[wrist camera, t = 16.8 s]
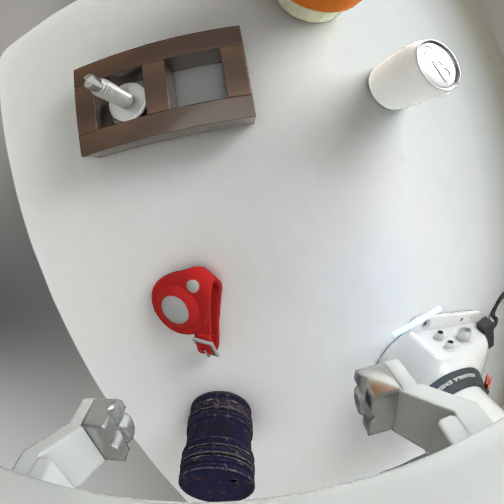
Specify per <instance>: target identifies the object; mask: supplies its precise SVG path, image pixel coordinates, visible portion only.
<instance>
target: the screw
mask: <svg viewBox="0 0 504 504" xmlns="http://www.w3.org/2000/svg"><path fill="white" fill-rule="evenodd" d="M84 79H86V81H85V83H84V86H85V87H86V88H87V89H89V90H91V92H92V93H93V94H94V95H95V96H97V97H99V98H101V99H104V100H106V101H108V102H109V109H110V112H111V114H112V116H113V117H114V118H115V119H117V120H119V121H122V122H124V121H128V120H131V119H135V118H138V117H139V116H140V115H141V114H142V113H143V112H144V110H145V108H146V99H145V91H144V88H143V87H142V86H140V85H139V84H137V83H126V84H123V85H121V86H120V87H118V86H117V85H115V84H113V83H112V82H110V81H109V80H106V79H104V78H98V77H96V76H94V75H92V74H87V75H86V76H85V77H84Z"/></svg>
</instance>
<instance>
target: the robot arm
mask: <svg viewBox="0 0 504 504" xmlns="http://www.w3.org/2000/svg"><path fill="white" fill-rule="evenodd" d="M503 298H504V293H503V294H502V295H501V296H500V297H499V299H498V300H497V302H496V304H495V306H494V308H493V310H492V313H491V317H492V318H493V319H494V323H493V322H492V321H491V320H489V319H488V318H486V317H485V316H484V317H482V315H481V313H480V312H479V311H478V310H471V311H461V312H451V313H440V314H436V313H438V312H440V311H441V310H442V308H441V307H440V306H438V307H436V308H435V309H433V310H431V311H430V312H428V313H426V314H424V315H418V316H416V317H414V318H413V319H412V320H411V322H410V323H409V324H407V325H405V326H403V327H401V328H400V329H398V330H396V331H394V332H392V333H393V335H394V336H395V337H396V336H398V335H400V334H401V333H403V332H404V333H403V334H402V335H401V336H400V337H399V338H398V339H397V340H395V341H394V342H393V343H392V344H391V345H390V346H389V347H388V348H387V350H386V351H385V352H384V354H383V355H382V357H381V358H380V360H379V362H378V364H376V365H373V366H369V367H365V368H361V369H357V370H355V376H354V380H355V382H356V384H357V386H356V387H355V388H354V399H355V405H356V408H357V410H358V413H359V414H360V415H362V416H363V424H364V426H365V429H366V431H367V433H368V435H373V434H377V433H380V432H384V431H387V430H390V429H392V430H393V431H395V432H396V433H398V434H399V435H401V436H403V437H404V438H406V439H408V440H409V441H411V442H413V443H414V444H416V445H418V446H419V447H421V448H423V449H424V450H425V452H426V454H427V456H426V457H424V458H421V459H419V460H416V461H414V462H411V463H409V464H406V465H404V466H401V467H398V468H395V469H392V470H389V471H386V472H383V473H380V474H377V475H374V476H370V477H367V478H364V479H360V480H356V481H353V482H349V483H345V484H341V485H337V486H333V487H328V488H324V489H319V490H314V491H309V492H304V493H298V494H292V495H285V496H278V497H271V498H262V499H252V500H240V501H222V502H172V501H155V500H144V499H134V498H126V497H118V496H112V495H105V494H99V493H94V492H89V491H83V490H79V489H77V488H78V487H79V486H80V485H81V484H82V483H83V482H84V481H85V480H86V479H87V478H88V477H89V476H90V475H92V473H94V472H95V471H96V470H97V469H98V468H99V467H100V466H101V465H102V464H103V463H104V462H105V461H106V460H116V461H125V460H126V458H127V455H128V452H129V449H130V448H129V446H128V443H129V442H130V441H131V440H132V439H133V437H134V423H133V420H132V418H131V416H130V415H128V414H127V413H126V412H124V411H125V408H126V407H125V405H124V403H123V401H122V400H119V399H99V398H97V399H95V398H85V399H84V400H82V402H81V404H80V406H79V407H78V409H77V411H76V412H75V414H74V416H73V417H72V419H71V421H70V423H69V425H64V426H62V427H61V428H59V429H57V430H56V431H54V432H53V433H51V434H49V435H48V436H46V437H44V438H43V439H41V440H40V441H38V442H36V443H35V444H33V445H32V446H30V447H28V448H26V449H25V450H23V452H22V453H21V455H20V457H19V458H18V460H17V462H16V463H15V465H14V467H13V468H12V470H9V469H7V468H4V467H2V466H0V504H504V410H502V409H501V408H500V407H499V406H498V405H497V404H496V403H495V402H494V401H493V400H492V399H491V398H490V397H489V396H488V393H489V390H488V389H489V386H490V383H491V379H492V377H491V378H490V380H489V374H487V376H486V379H485V383H484V384H483V380H482V374H483V371H484V368H485V365H486V361H487V356H488V349H489V348H491V347H492V346H493V345H494V330H493V329H494V328H495V327H496V325H497V323H498V318H497V317H496V316H495V311H496V309H497V306H498V305H499V303H500V301H501V300H502V299H503ZM424 322H425V323H424ZM423 323H424V324H423ZM488 381H489V382H488Z"/></svg>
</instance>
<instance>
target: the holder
mask: <svg viewBox="0 0 504 504" xmlns="http://www.w3.org/2000/svg"><path fill="white" fill-rule="evenodd" d="M218 62H222V67H223V73H224V78H225V84H226V90H227V96H228V98H223V99H218V100H212V101H207V102H202V103H197V104H192V105H187V106H183V107H178V105H177V98H176V91H175V84H174V77H173V72H174V71H178V70H183V69H187V68H192V67H197V66H202V65H207V64H212V63H218ZM87 74H92V75H94V76H96V77H98V78H104V79H106V80H109V81H110V82H112V83H113V84H115V85H117V86H118V87H120V86H121V85H123V84H126V83H133V82H136V81H140V80H143V82H144V91H145V99H146V107H147V114H148V115H146V116H142V117H138V118H135V119H131V120H128V121H124V122H121V123H118V124H114V125H113V122H112V114H111V112H110V109H109V102H108V101H106V100H104V99H101V98H99V97H97V96H95V95H94V94H93V93H92V92H91V90H89V89H87V88H86V87H85V86H84V83H85V81H86V79H84V77H85V76H86V75H87ZM74 87H75V102H76V114H77V124H78V132H79V140H80V148H81V155H82V157H97V158H101V157H104V156H107V155H111V154H114V153H118V152H121V151H125V150H128V149H132V148H136V147H140V146H144V145H147V144H151V143H156V142H160V141H164V140H168V139H173V138H177V137H182V136H186V135H191V134H196V133H201V132H206V131H211V130H217V129H222V128H228V127H234V126H240V125H247V124H253V123H254V121H255V117H256V114H255V108H254V102H253V96H252V91H251V85H250V79H249V74H248V68H247V63H246V58H245V52H244V47H243V42H242V36H241V31H240V26H232V27H225V28H219V29H213V30H207V31H202V32H197V33H192V34H187V35H183V36H178V37H174V38H170V39H166V40H162V41H158V42H154V43H151V44H147V45H144V46H140V47H137V48H134V49H130V50H127V51H124V52H121V53H118V54H115V55H112V56H109V57H107V58H104V59H101V60H98V61H96V62H93V63H91V64H88V65H86V66H83V67H81V68H78V69H76V70H74Z"/></svg>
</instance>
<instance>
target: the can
mask: <svg viewBox="0 0 504 504" xmlns="http://www.w3.org/2000/svg"><path fill="white" fill-rule="evenodd" d="M459 81H460V68H459V64H458V62H457V60H456V58H455V56H454V55H453V53H452V52H451V51H450V50H449V49H448V48H447V47H446V46H445V45H444V44H442V43H441V42H439V41H436V40H432V39H427V40H419V41H415V42H413V43H411V44H409V45H407V46H406V47H404V48H403V49H401V50H400V51H398V52H396V53H395V54H393V55H392V56H390V57H389V58H387V59H386V60H384V61H383V62H382V63H380V64H379V65H377V66H376V67H375V68H374V69H373V70H372V71H371V73H370V76H369V88H370V91H371V93H372V95H373V97H374V98H375V99H376V101H377V102H378V103H380V104H381V105H382V106H384V107H386V108H388V109H391V110H399V109H403V108H407V107H410V106H413V105H417V104H420V103H424V102H427V101H430V100H434V99H437V98H441V97H443V96H446V95H448V94H449V93H450V92H451V91H452V90H453V89H455V88H456V87H457V86H458V84H459Z"/></svg>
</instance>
